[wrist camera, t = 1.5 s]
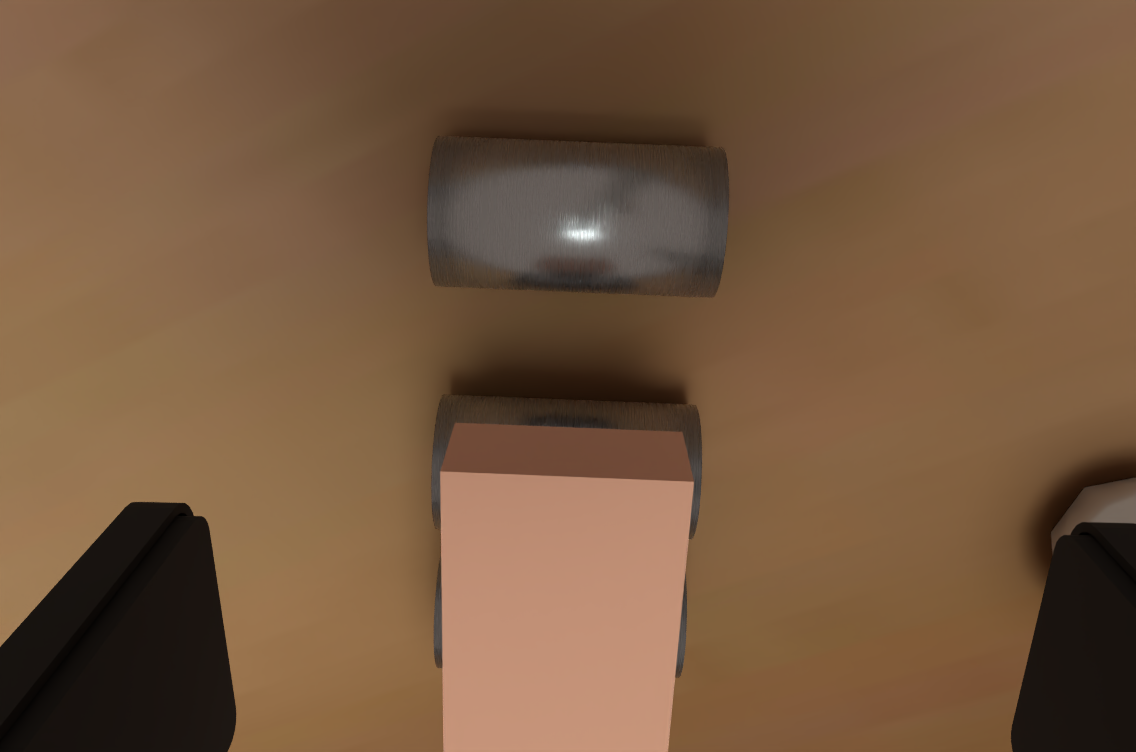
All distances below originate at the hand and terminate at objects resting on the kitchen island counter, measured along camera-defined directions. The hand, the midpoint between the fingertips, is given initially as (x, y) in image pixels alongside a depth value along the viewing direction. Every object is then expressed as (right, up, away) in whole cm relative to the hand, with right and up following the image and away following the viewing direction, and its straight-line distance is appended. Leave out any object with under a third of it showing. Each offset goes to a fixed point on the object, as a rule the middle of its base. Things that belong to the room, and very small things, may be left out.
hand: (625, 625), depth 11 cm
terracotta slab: (-1, -3, +16) cm, 17 cm away
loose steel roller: (0, +8, +17) cm, 19 cm away
